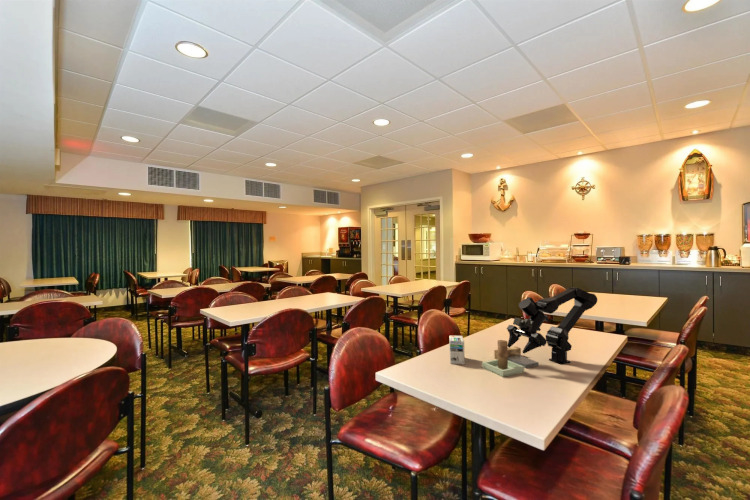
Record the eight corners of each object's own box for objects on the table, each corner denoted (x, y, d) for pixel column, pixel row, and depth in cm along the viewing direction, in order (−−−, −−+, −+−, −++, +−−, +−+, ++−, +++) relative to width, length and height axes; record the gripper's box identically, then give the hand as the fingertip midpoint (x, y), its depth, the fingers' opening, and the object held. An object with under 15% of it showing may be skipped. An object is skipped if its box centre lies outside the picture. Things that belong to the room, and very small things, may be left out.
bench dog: (515, 354, 164) (515, 346, 164) (520, 356, 161) (520, 348, 161) (494, 358, 158) (494, 350, 158) (499, 360, 155) (499, 351, 155)
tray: (502, 363, 150) (502, 358, 150) (524, 372, 139) (524, 366, 139) (482, 367, 146) (482, 362, 146) (502, 377, 135) (502, 371, 135)
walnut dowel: (506, 367, 144) (506, 340, 144) (508, 370, 140) (508, 342, 140) (497, 366, 145) (496, 339, 145) (499, 370, 141) (498, 342, 141)
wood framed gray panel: (517, 358, 159) (517, 354, 159) (538, 366, 148) (538, 362, 148) (505, 361, 156) (505, 356, 156) (525, 369, 145) (525, 364, 145)
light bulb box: (464, 364, 150) (464, 341, 150) (449, 363, 151) (449, 340, 151) (463, 357, 161) (463, 335, 161) (449, 356, 162) (449, 334, 162)
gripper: (509, 307, 155) (490, 333, 152) (540, 314, 138) (520, 344, 134) (522, 322, 158) (505, 348, 154) (555, 331, 140) (535, 360, 137)
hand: (515, 349), depth 145 cm, fingers open, 9 cm apart
